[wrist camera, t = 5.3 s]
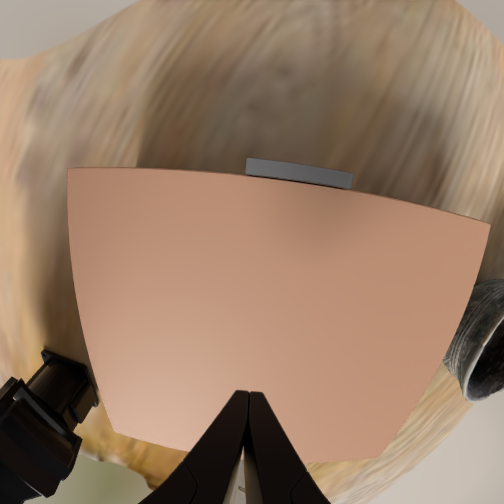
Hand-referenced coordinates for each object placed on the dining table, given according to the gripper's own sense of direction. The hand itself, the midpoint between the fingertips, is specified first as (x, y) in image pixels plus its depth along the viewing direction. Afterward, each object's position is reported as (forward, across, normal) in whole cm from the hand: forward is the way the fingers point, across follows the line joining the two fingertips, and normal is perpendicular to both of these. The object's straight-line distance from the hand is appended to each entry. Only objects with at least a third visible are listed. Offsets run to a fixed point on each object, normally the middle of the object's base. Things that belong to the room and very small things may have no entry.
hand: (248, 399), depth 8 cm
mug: (+12, -21, +2) cm, 24 cm away
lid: (+6, -1, +3) cm, 7 cm away
